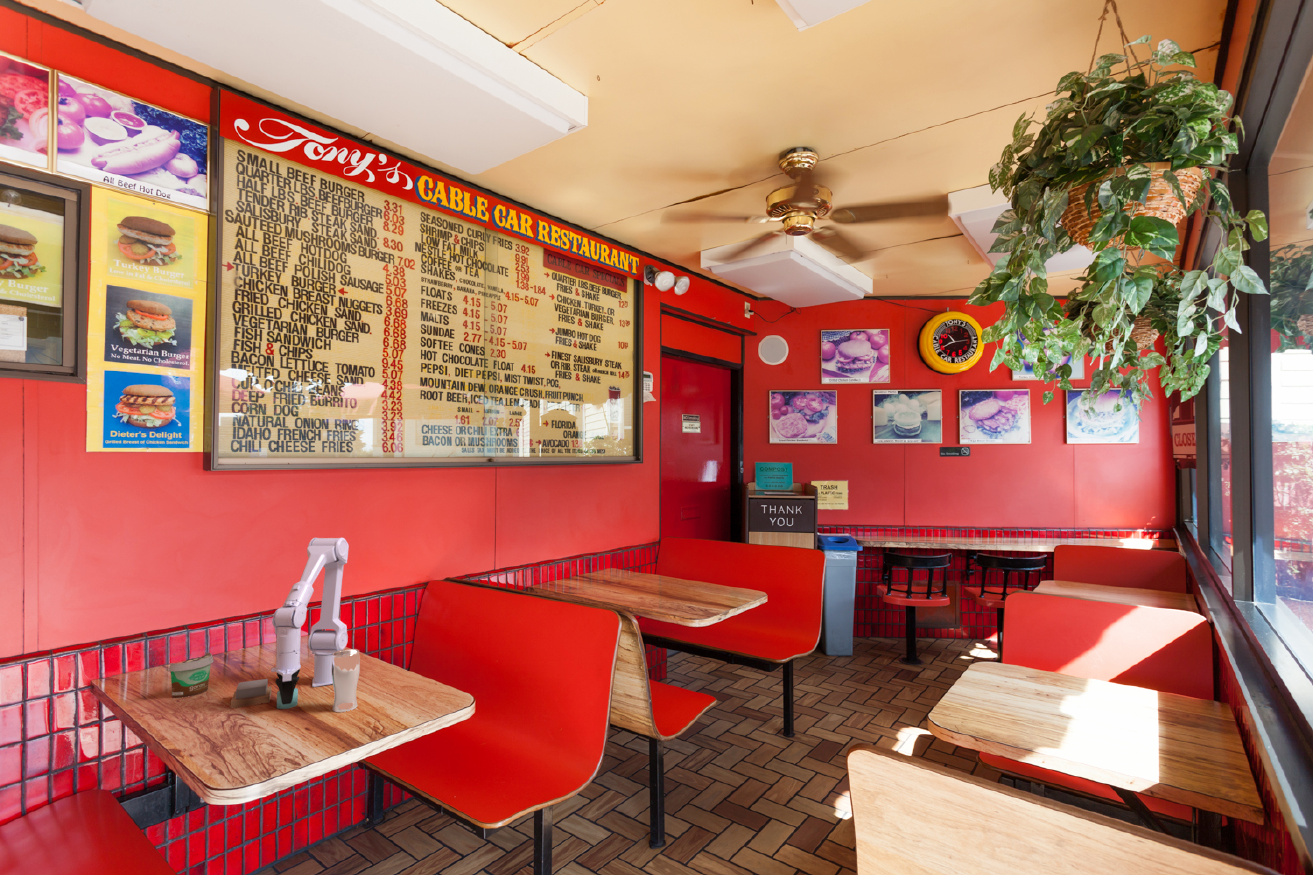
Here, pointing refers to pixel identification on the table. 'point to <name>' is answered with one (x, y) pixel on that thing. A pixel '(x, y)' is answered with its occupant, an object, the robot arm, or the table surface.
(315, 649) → the robot arm
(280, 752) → the table surface
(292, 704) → the teal domed cylinder
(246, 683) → the tower top
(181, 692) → the food container
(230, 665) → the table surface
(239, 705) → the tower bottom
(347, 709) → the beer glass
